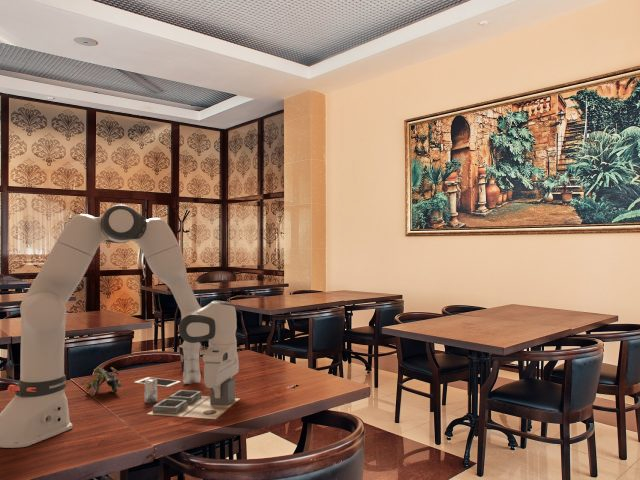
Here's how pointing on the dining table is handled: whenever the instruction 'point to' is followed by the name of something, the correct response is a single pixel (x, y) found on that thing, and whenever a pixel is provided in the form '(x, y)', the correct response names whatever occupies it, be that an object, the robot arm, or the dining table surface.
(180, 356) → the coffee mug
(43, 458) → the dining table surface
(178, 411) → the board
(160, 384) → the cell phone
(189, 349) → the plastic bottle
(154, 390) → the steel peg
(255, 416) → the dining table surface
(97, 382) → the olive green irregular piece
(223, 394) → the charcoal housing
